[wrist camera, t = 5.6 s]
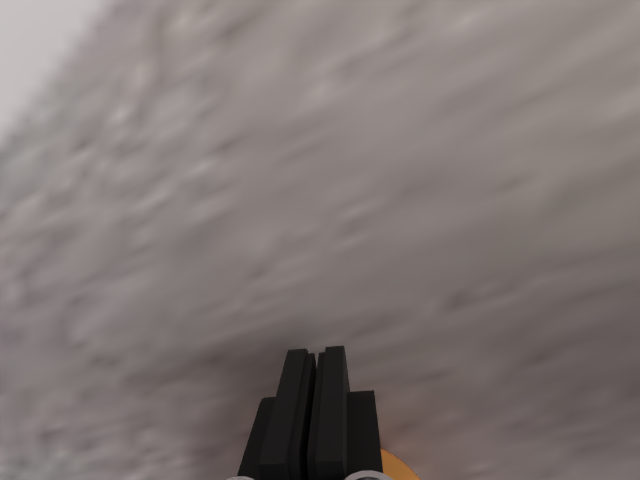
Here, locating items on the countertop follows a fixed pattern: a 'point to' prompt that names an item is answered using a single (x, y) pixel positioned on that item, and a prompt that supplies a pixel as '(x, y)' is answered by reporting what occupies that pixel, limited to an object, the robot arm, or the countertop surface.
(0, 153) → the countertop surface
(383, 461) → the ball
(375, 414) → the robot arm
